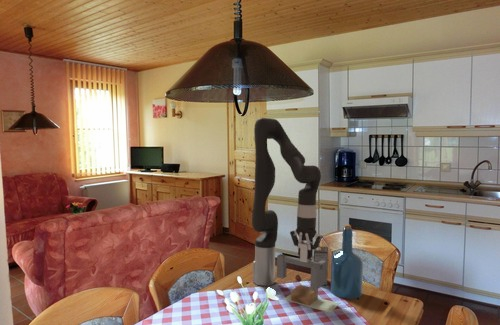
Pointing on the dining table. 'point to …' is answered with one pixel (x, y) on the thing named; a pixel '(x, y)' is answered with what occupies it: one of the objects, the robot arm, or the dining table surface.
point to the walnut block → (304, 295)
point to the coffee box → (322, 257)
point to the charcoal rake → (316, 268)
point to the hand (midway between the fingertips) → (305, 257)
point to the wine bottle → (346, 269)
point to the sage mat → (319, 304)
